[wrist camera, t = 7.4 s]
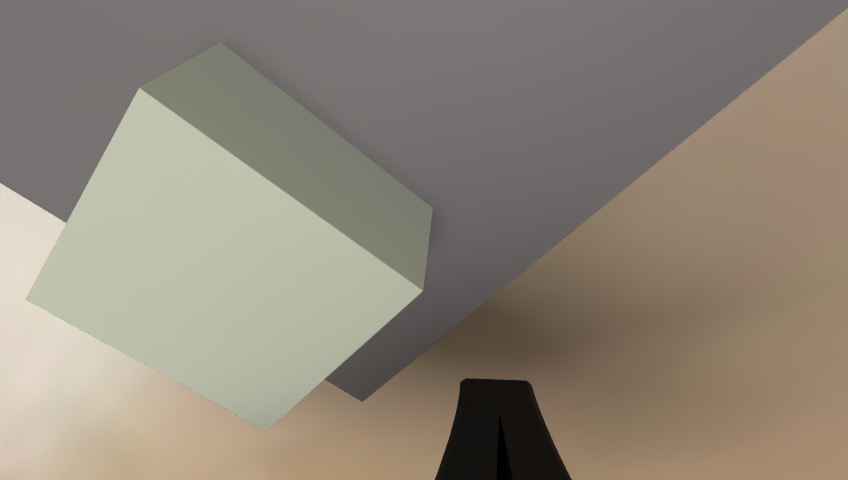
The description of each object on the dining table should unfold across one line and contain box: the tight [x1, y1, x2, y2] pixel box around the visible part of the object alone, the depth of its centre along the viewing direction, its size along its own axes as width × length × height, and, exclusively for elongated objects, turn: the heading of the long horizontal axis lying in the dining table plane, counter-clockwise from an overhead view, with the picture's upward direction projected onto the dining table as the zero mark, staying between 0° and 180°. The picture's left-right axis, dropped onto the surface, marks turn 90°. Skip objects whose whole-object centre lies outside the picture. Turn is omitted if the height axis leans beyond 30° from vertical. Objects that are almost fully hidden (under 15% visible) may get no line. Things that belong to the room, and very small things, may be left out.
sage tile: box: [26, 42, 433, 431], centre depth 9 cm, size 4×4×2 cm
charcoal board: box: [0, 0, 848, 402], centre depth 9 cm, size 10×14×2 cm
